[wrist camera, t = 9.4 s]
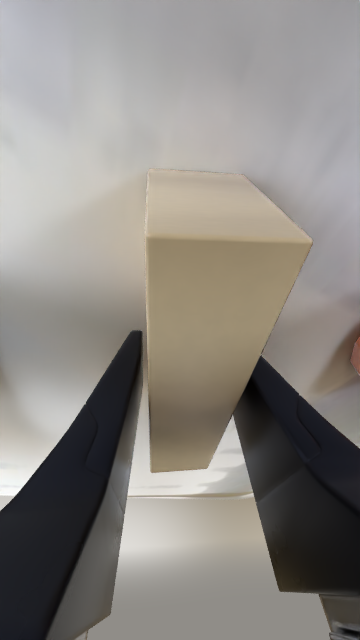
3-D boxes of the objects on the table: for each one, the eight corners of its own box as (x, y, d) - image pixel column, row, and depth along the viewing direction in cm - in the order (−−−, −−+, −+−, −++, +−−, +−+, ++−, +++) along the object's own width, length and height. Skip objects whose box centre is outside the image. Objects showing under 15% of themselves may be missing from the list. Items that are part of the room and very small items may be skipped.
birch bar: (196, 390, 14) (207, 469, 11) (150, 392, 14) (150, 473, 11) (244, 173, 7) (316, 239, 4) (147, 167, 6) (144, 234, 3)
